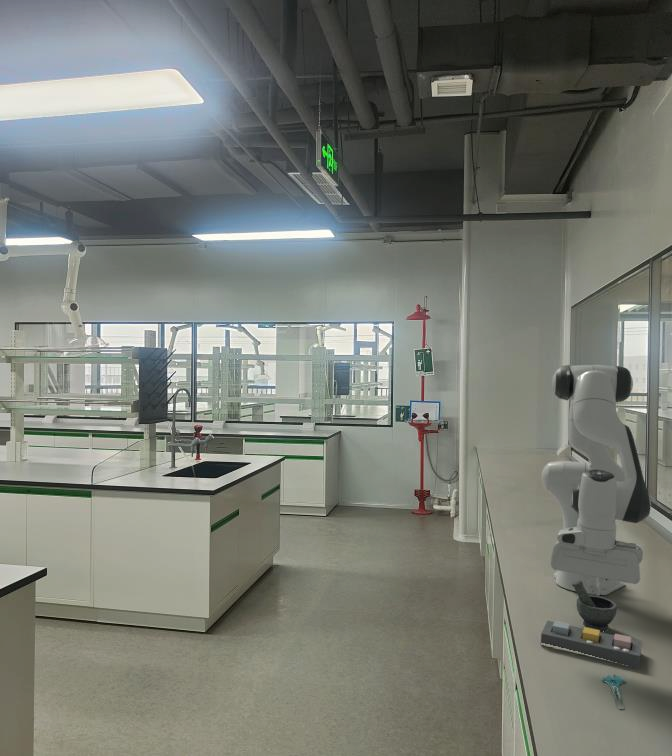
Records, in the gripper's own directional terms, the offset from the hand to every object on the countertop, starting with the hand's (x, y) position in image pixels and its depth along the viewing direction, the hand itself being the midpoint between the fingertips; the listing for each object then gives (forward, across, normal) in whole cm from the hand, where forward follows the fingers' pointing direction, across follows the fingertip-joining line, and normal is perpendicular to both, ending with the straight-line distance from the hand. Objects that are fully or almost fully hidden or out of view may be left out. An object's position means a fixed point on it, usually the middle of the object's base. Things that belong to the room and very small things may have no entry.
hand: (593, 594), depth 154 cm
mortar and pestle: (+14, +1, -15) cm, 20 cm away
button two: (+12, -7, 0) cm, 13 cm away
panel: (+14, 0, 0) cm, 14 cm away
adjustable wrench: (+15, -7, +18) cm, 25 cm away
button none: (+12, +7, 0) cm, 14 cm away
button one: (+12, 0, 0) cm, 12 cm away
